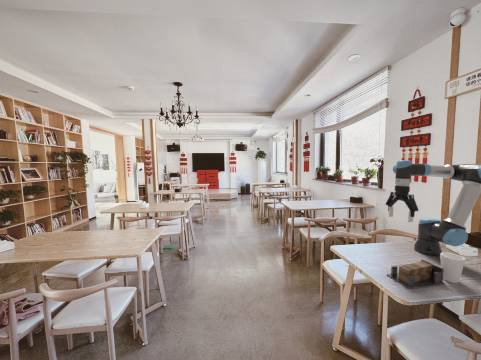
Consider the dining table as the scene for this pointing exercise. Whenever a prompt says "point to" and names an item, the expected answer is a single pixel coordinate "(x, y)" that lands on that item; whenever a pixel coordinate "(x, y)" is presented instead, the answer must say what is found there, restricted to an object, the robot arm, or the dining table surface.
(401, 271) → the brown wooden block
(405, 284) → the bracket board
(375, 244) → the dining table surface
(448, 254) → the foam cup
